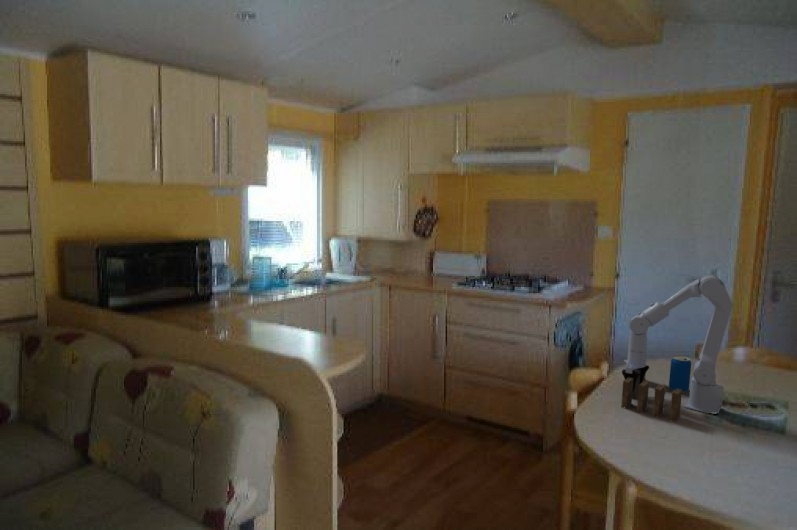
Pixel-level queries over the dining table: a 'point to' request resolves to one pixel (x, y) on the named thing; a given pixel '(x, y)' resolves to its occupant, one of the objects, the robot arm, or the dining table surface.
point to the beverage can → (680, 373)
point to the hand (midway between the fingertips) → (634, 388)
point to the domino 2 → (636, 385)
